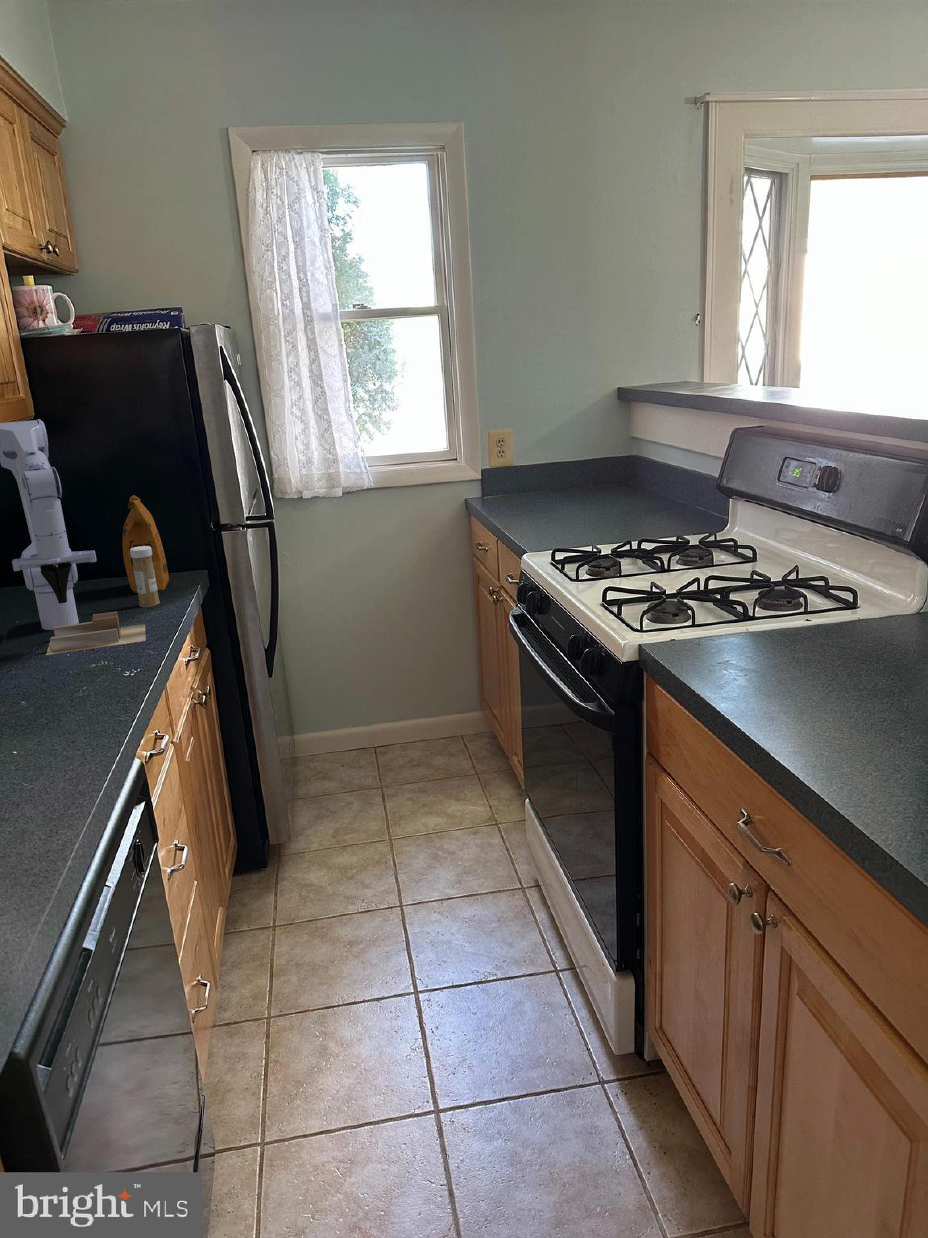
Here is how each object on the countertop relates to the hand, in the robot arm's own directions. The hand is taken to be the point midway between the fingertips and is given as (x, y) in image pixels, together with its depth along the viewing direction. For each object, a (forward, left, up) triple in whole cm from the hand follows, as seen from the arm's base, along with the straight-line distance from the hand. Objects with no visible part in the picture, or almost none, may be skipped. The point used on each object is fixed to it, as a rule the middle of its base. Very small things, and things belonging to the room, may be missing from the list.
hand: (62, 601), depth 172 cm
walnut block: (0, +7, -8) cm, 11 cm away
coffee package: (-43, +15, -10) cm, 47 cm away
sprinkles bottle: (-25, +15, -10) cm, 31 cm away
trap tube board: (0, +5, -9) cm, 11 cm away
